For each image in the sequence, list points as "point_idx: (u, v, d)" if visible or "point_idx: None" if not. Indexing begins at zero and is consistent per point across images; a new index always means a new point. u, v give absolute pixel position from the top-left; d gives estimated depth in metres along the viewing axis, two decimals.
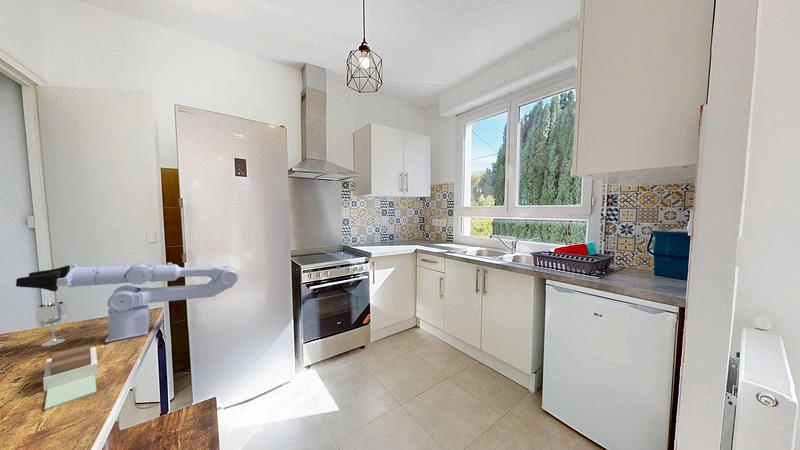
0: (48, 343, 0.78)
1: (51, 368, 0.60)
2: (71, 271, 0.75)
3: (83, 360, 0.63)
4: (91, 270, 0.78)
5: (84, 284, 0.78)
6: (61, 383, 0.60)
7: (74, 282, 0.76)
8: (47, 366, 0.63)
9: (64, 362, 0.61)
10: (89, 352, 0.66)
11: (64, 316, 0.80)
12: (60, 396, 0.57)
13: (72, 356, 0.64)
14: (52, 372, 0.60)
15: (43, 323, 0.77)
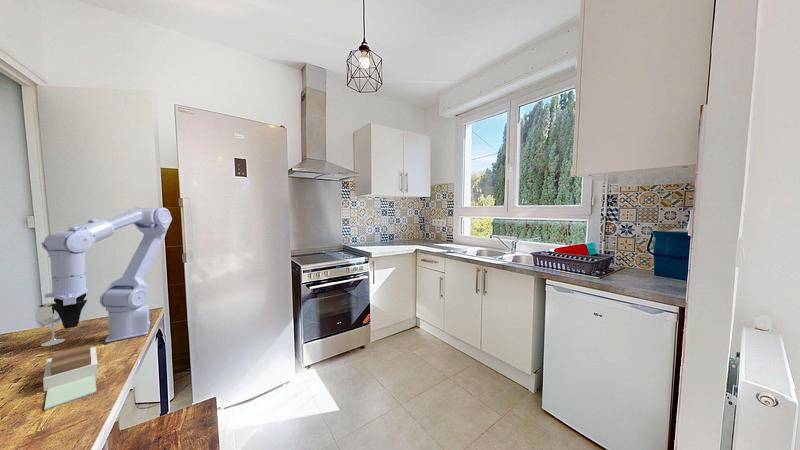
0: (48, 343, 0.78)
1: (51, 368, 0.60)
2: (56, 296, 0.67)
3: (83, 360, 0.63)
4: (56, 281, 0.67)
5: (81, 283, 0.70)
6: (61, 383, 0.60)
7: (77, 290, 0.69)
8: (47, 366, 0.63)
9: (64, 362, 0.61)
10: (89, 352, 0.66)
11: None
12: (60, 396, 0.57)
13: (72, 356, 0.64)
14: (52, 372, 0.60)
15: (43, 323, 0.77)
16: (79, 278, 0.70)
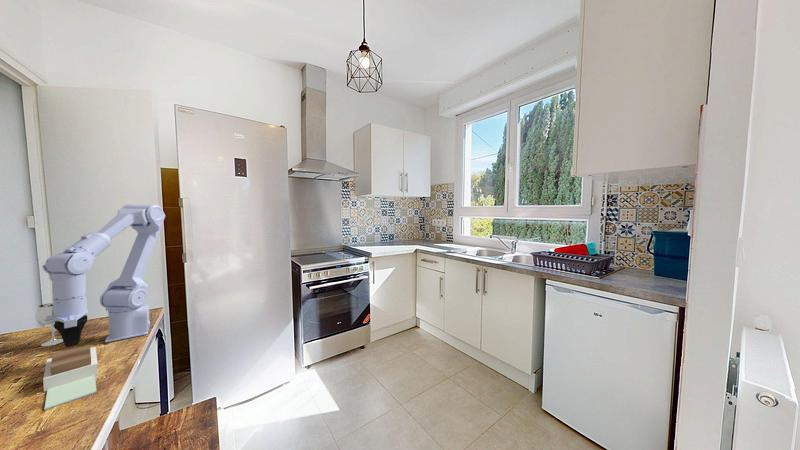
0: (48, 343, 0.78)
1: (51, 368, 0.60)
2: (57, 319, 0.67)
3: (83, 360, 0.63)
4: (57, 304, 0.67)
5: (82, 304, 0.71)
6: (61, 383, 0.60)
7: (77, 312, 0.70)
8: (47, 366, 0.63)
9: (64, 362, 0.61)
10: (89, 352, 0.66)
11: None
12: (60, 396, 0.57)
13: (72, 356, 0.64)
14: (52, 372, 0.60)
15: (43, 323, 0.77)
16: (80, 299, 0.70)
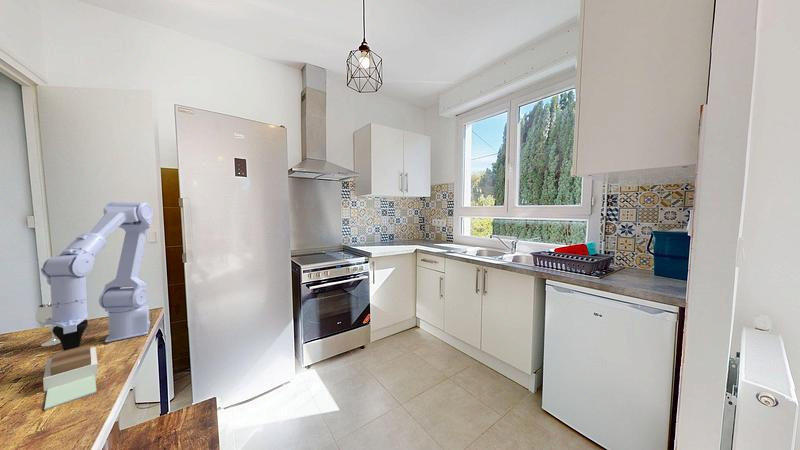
0: (48, 343, 0.78)
1: (51, 368, 0.60)
2: (56, 324, 0.64)
3: (83, 360, 0.63)
4: (56, 308, 0.65)
5: (82, 308, 0.68)
6: (61, 383, 0.60)
7: (77, 316, 0.67)
8: (47, 366, 0.63)
9: (64, 362, 0.61)
10: (89, 352, 0.66)
11: None
12: (60, 396, 0.57)
13: (72, 356, 0.64)
14: (52, 372, 0.60)
15: (43, 323, 0.77)
16: (80, 303, 0.67)
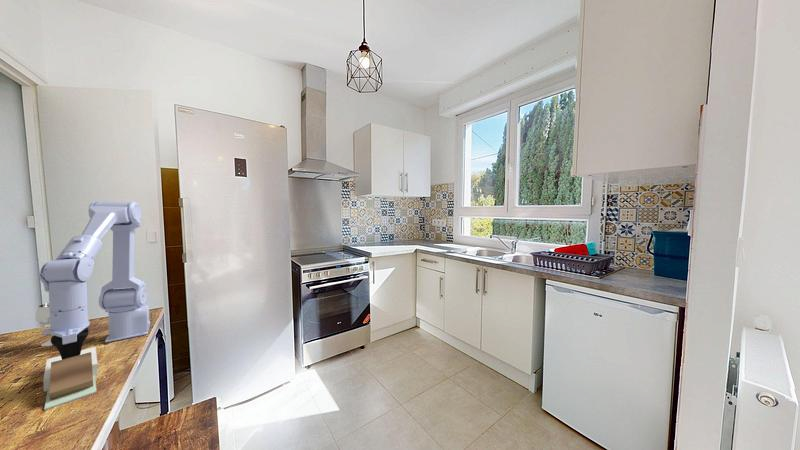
0: (48, 343, 0.78)
1: (50, 394, 0.55)
2: (54, 333, 0.59)
3: (85, 384, 0.59)
4: (54, 316, 0.60)
5: (83, 316, 0.63)
6: None
7: (77, 325, 0.62)
8: (47, 366, 0.63)
9: (64, 386, 0.57)
10: (91, 370, 0.61)
11: None
12: None
13: (72, 374, 0.59)
14: (51, 397, 0.56)
15: (43, 323, 0.77)
16: (80, 311, 0.63)
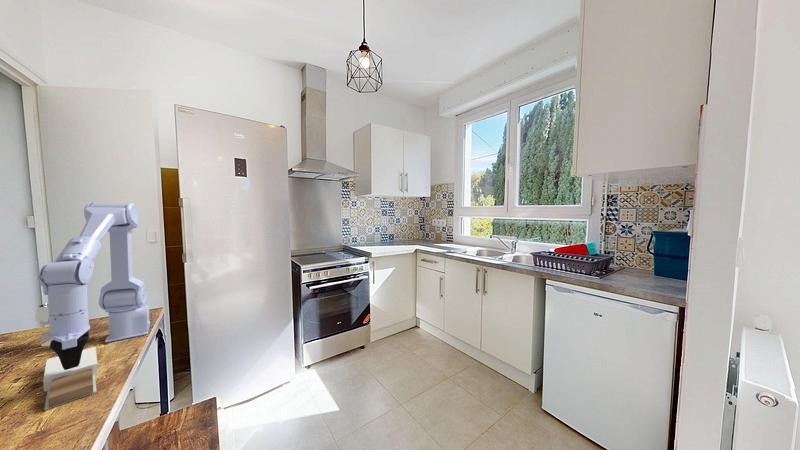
0: (48, 343, 0.78)
1: (49, 399, 0.54)
2: (53, 338, 0.57)
3: (85, 388, 0.57)
4: (54, 320, 0.58)
5: (83, 319, 0.61)
6: None
7: (78, 329, 0.60)
8: (47, 366, 0.63)
9: (63, 392, 0.55)
10: (91, 378, 0.60)
11: None
12: None
13: (72, 383, 0.58)
14: (50, 403, 0.54)
15: (43, 323, 0.77)
16: (80, 314, 0.61)
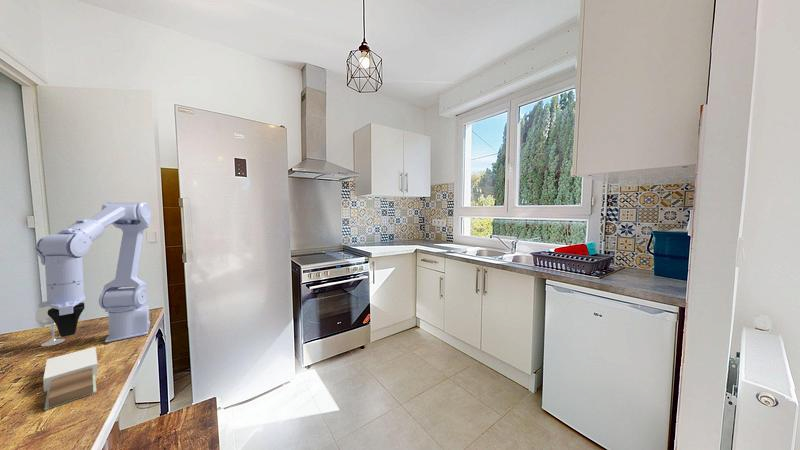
0: (48, 343, 0.78)
1: (49, 399, 0.54)
2: (51, 305, 0.61)
3: (85, 388, 0.57)
4: (51, 289, 0.62)
5: (79, 290, 0.65)
6: None
7: (74, 298, 0.64)
8: (47, 366, 0.63)
9: (63, 392, 0.55)
10: (91, 378, 0.60)
11: None
12: None
13: (72, 383, 0.58)
14: (50, 403, 0.54)
15: (43, 323, 0.77)
16: (76, 285, 0.64)
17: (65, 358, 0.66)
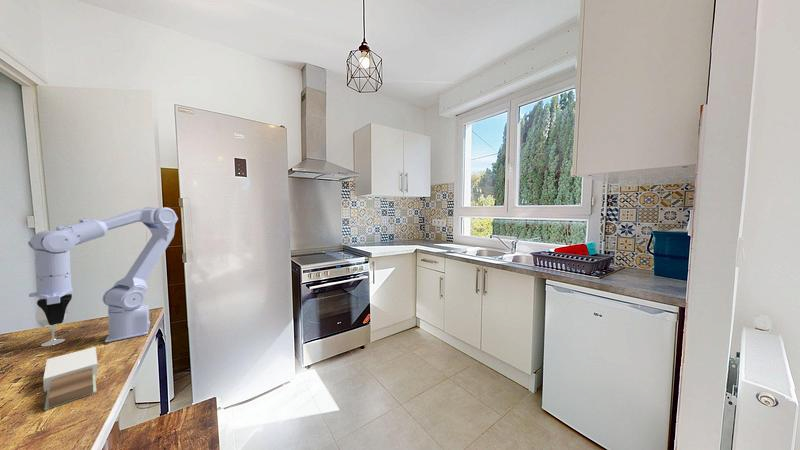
0: (48, 343, 0.78)
1: (49, 399, 0.54)
2: (40, 295, 0.67)
3: (85, 388, 0.57)
4: (40, 281, 0.67)
5: (66, 282, 0.71)
6: None
7: (61, 290, 0.70)
8: (47, 366, 0.63)
9: (63, 392, 0.55)
10: (91, 378, 0.60)
11: (64, 316, 0.80)
12: None
13: (72, 383, 0.58)
14: (50, 403, 0.54)
15: (43, 323, 0.77)
16: (64, 277, 0.70)
17: (65, 358, 0.66)
